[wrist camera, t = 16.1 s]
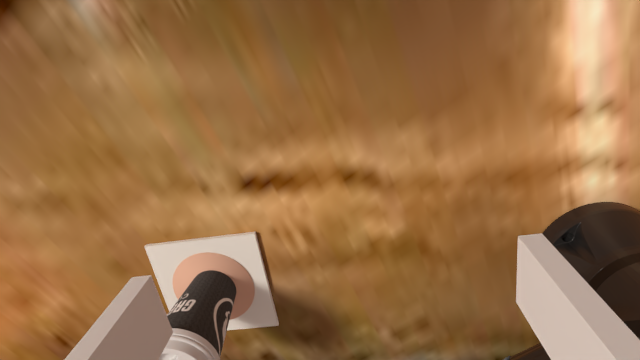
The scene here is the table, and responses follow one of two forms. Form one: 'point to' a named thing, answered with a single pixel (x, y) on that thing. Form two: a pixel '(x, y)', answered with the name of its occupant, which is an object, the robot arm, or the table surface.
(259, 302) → the coaster mat
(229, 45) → the table surface
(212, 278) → the coffee cup
